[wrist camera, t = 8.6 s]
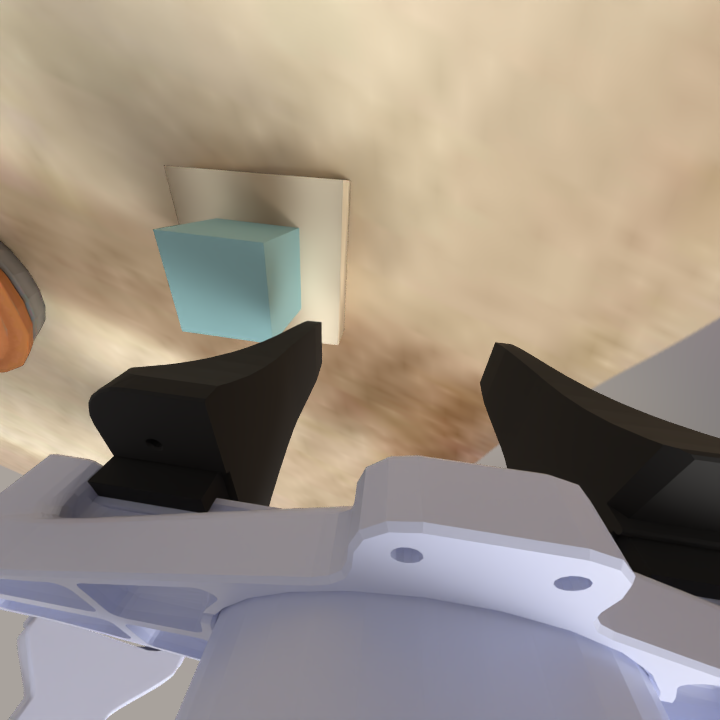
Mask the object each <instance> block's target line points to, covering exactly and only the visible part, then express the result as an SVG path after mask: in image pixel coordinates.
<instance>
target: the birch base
mask: <svg viewBox="0 0 720 720" xmlns="http://www.w3.org/2000/svg"><path fill="white" fill-rule="evenodd" d="M164 168H165V172H166V176H167V179H168V183H169V187H170V191H171V195H172V199H173V203H174V207H175V211H176V214H177V218H178V222H179V225H181V224H187V223H192V222H198V221H204V220H210V219H215V218H219V219H227V220H236V221H244V222H253V223H261V224H270V225H278V226H286V227H295V228H299V239H300V276H301V310H300V311H299V312H298V313H297V315H296V316H295V317H294V318H293V320H292V321H291V322H290V323H289V325H288V326H287V327H286V328H285V330H284V331H286V330H288V329H290V328H292V327H294V326H296V325H298V324H300V323H303V322H305V321H315V322H322V343H325V344H333V345H338V344H339V342H340V339H341V337H342V334H343V331H344V320H345V296H346V272H347V248H348V224H349V200H350V181H348V180H338V179H325V178H313V177H300V176H288V175H276V174H263V173H251V172H239V171H226V170H214V169H202V168H189V167H177V166H165V165H164ZM284 331H283V332H284Z"/></svg>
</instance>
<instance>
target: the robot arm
mask: <svg viewBox="0 0 720 720" xmlns="http://www.w3.org/2000/svg"><path fill="white" fill-rule="evenodd" d="M321 364H322V322H315V321H305V322H303V323H300V324H298V325H296V326H294V327H292V328H290V329H288V330H286V331H284V332H282V333H280V334H278V335H276V336H274V337H272V338H269V339H267V340H265V341H263V342H260V343H258V344H255V345H253V346H250V347H247V348H244V349H241V350H238V351H235V352H231V353H227V354H223V355H219V356H215V357H211V358H206V359H201V360H196V361H190V362H183V363H176V364H168V365H157V366H147V367H134V368H130V369H128V370H127V371H125V372H124V373H123V374H121V375H120V376H118V377H117V378H115V379H114V380H112V381H111V382H109V383H108V384H106V385H105V386H103V387H102V388H100V389H99V390H98V391H96V392H95V393H94V394H93V395H91V398H90V401H89V413H90V417H91V419H92V421H93V423H94V425H95V427H96V428H97V430H98V431H99V433H100V435H101V436H102V438H103V439H104V441H105V443H106V444H107V446H108V447H109V449H110V451H111V452H112V454H113V455H114V457H112V458H111V459H110V460H109V461H108V462H107V463H106V464H105V465H104V466H102V465H101V464H99V463H97V462H96V461H93V460H90V459H84V458H78V457H71V456H65V455H59V454H51V455H49V456H48V457H47V458H45V459H44V460H43V461H41V462H40V463H39V464H38V465H36V466H35V467H34V468H32V469H31V470H30V471H28V472H27V473H26V474H24V475H23V476H22V477H21V478H19V479H18V480H17V481H15V482H14V483H13V484H12V485H10V486H9V487H8V488H6V489H5V490H4V491H2V492H1V493H0V610H5V611H10V612H15V613H19V614H24V615H28V616H29V617H28V618H27V619H26V620H25V622H24V624H23V627H24V628H25V629H24V630H23V631H22V632H21V634H20V635H19V636H18V639H17V650H18V656H19V663H20V669H21V675H22V681H23V687H24V698H23V700H22V701H21V703H20V704H19V705H18V707H17V708H16V709H15V711H14V712H13V713H12V715H11V716H10V717H9V719H8V720H106V719H107V718H108V717H109V716H110V715H111V714H113V713H114V712H116V711H117V710H119V709H120V708H122V707H124V706H125V705H127V704H129V703H131V702H133V701H134V700H136V699H138V698H140V697H141V696H143V695H145V694H146V693H148V692H150V691H152V690H153V689H155V688H157V687H159V686H160V685H162V684H163V683H164V682H166V681H167V680H168V679H170V678H171V677H172V676H173V675H174V674H175V671H176V670H177V668H179V666H180V665H181V664H182V662H183V660H184V658H185V657H188V658H192V659H195V660H199V661H200V662H199V664H198V666H197V669H196V671H195V674H194V676H193V678H192V681H191V683H190V685H189V688H188V690H187V693H186V695H185V697H184V700H183V702H182V704H181V707H180V709H179V712H178V714H177V716H176V719H175V720H720V438H717V437H713V436H710V435H707V434H704V433H700V432H698V431H694V430H692V429H688V428H686V427H683V426H679V425H677V424H674V423H671V422H668V421H665V420H662V419H659V418H657V417H654V416H651V415H649V414H647V413H644V412H641V411H639V410H636V409H634V408H631V407H629V406H626V405H624V404H621V403H620V402H617V401H615V400H613V399H610V398H608V397H606V396H604V395H602V394H600V393H598V392H596V391H594V390H592V389H590V388H588V387H586V386H584V385H582V384H580V383H578V382H576V381H574V380H573V379H571V378H569V377H567V376H565V375H564V374H562V373H560V372H559V371H557V370H555V369H554V368H552V367H550V366H549V365H547V364H545V363H544V362H542V361H540V360H539V359H537V358H535V357H534V356H532V355H531V354H529V353H527V352H525V351H524V350H522V349H520V348H518V347H516V346H514V345H512V344H505V343H496V342H495V345H494V347H493V350H492V353H491V355H490V358H489V361H488V363H487V366H486V368H485V371H484V374H483V376H482V379H481V382H480V385H481V391H482V396H483V400H484V404H485V407H486V409H487V412H488V415H489V418H490V420H491V423H492V425H493V428H494V430H495V433H496V436H497V438H498V441H499V443H500V446H501V448H502V452H503V455H504V458H505V461H506V465H507V468H501V467H493V466H487V465H480V464H473V463H466V462H459V461H453V460H446V459H439V458H432V457H425V456H418V455H414V456H390V457H388V458H386V459H384V460H381V461H379V462H377V463H375V464H372V465H370V466H368V467H366V469H365V470H364V472H363V474H362V475H361V477H360V479H359V481H358V482H357V488H356V495H355V502H354V505H353V506H339V507H316V508H293V509H281V508H275V507H269V504H270V501H271V497H272V494H273V491H274V487H275V484H276V481H277V478H278V474H279V471H280V468H281V465H282V462H283V459H284V456H285V453H286V450H287V447H288V444H289V441H290V438H291V435H292V432H293V430H294V427H295V425H296V422H297V420H298V418H299V416H300V414H301V412H302V410H303V408H304V406H305V403H306V401H307V399H308V397H309V395H310V393H311V391H312V389H313V387H314V385H315V383H316V380H317V377H318V374H319V371H320V368H321ZM89 630H90V631H89ZM92 631H93V632H92ZM95 632H97V633H95ZM98 633H101V634H105V635H108V636H112V637H116V638H120V639H123V640H126V641H130V642H134V643H137V644H141V645H144V646H145V647H138V646H133V645H130V644H127V643H124V642H121V641H118V640H116V639H112V638H110V637H107V636H104V635H101V634H98Z"/></svg>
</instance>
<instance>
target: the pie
mask: <svg viewBox="0 0 720 720" xmlns="http://www.w3.org/2000/svg"><path fill="white" fill-rule="evenodd" d="M44 321H45V304H44V302H43V299H42V296H41V293H40V290H39V288H38V286H37V285H36V283H35V282H34V280H33V278H32V277H31V275H30V273H29V272H28V270H27V269H26V268H25V267H24V265H23V264H22V263H21V262H20V261H19V260H18V258H17V257H16V256H15V255H14V254H13V252H12V251H11V250H10V249H9V248H8V247H6V246H5V245H4V244H3V243H2V242H1V241H0V372H8V371H10V370H13V369H15V368H18V367H20V366H23V365H24V363H25V361H26V359H27V357H28V355H29V353H30V351H31V348H32V345H33V341H34V339H35V338H36V336H37V334H38V333H39V331H40V329H41V327H42V325H43V323H44Z"/></svg>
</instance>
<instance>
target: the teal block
mask: <svg viewBox="0 0 720 720" xmlns="http://www.w3.org/2000/svg"><path fill="white" fill-rule="evenodd" d="M153 231H154V234H155V238H156V241H157V245H158V248H159V252H160V255H161V259H162V262H163V266H164V269H165V273H166V276H167V279H168V283H169V286H170V290H171V293H172V297H173V300H174V304H175V307H176V311H177V314H178V318H179V321H180V325H181V328H182V331H185V332H192V333H199V334H206V335H213V336H220V337H227V338H234V339H241V340H248V341H255V342H263V341H265V340H267V339H269V338H272V337H274V336H276V335H278V334H280V333H282V332H283V331H284V330H285V328H286V327H287V326H288V325H289V323H290V322H291V321H292V320H293V318H294V317H295V316H296V315H297V313H298V312H299V311H300V310H301V276H300V239H299V228H295V227H286V226H278V225H270V224H261V223H253V222H244V221H236V220H227V219H219V218H215V219H210V220H204V221H198V222H192V223H187V224H181V225H175V226H170V227H164V228H158V229H153Z"/></svg>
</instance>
